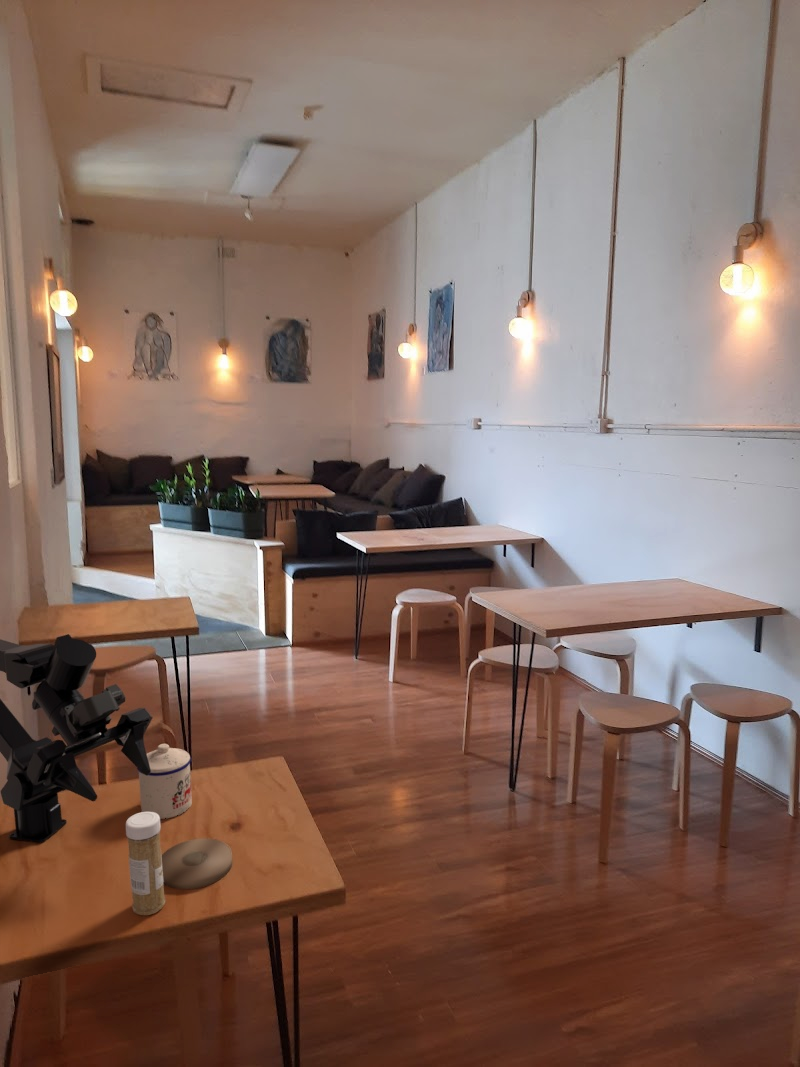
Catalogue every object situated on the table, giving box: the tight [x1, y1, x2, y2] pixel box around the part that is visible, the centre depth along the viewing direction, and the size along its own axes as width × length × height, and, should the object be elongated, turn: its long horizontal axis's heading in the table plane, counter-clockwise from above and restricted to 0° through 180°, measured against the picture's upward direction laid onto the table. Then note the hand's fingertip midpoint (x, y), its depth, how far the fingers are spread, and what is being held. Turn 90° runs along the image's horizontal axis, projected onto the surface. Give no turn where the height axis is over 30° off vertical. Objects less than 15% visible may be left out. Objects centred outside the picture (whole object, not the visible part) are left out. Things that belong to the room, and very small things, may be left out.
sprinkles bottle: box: [125, 811, 166, 916], centre depth 106 cm, size 5×5×13 cm
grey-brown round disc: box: [161, 838, 233, 890], centre depth 116 cm, size 11×11×2 cm
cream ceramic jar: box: [136, 743, 193, 820], centre depth 135 cm, size 12×9×12 cm
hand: (123, 786), depth 111 cm, fingers open, 9 cm apart
